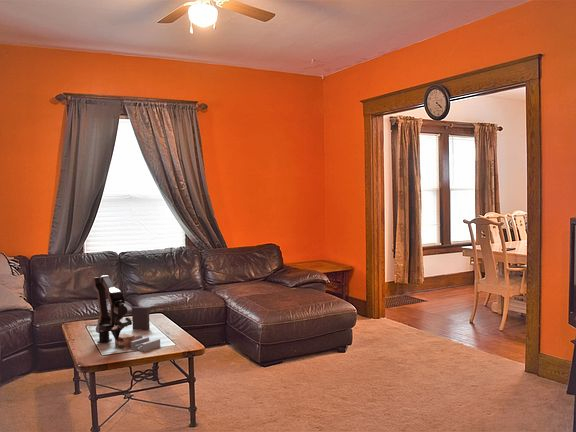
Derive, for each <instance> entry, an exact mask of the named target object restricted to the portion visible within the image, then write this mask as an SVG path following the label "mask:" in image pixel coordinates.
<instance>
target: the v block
mask: <svg viewBox="0 0 576 432" xmlns="http://www.w3.org/2000/svg"><path fill="white" fill-rule="evenodd" d="M157 348H161V339H160V338H156V339H153V340H151V339H150V337H149V336H146V337H143V338H141V339H138V340H135V341H131V347H130V349H131V350H136V351H141V352H147V351H150V350H153V349H157Z"/></svg>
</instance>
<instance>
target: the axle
mask: <svg viewBox="0 0 576 432" xmlns="http://www.w3.org/2000/svg"><path fill="white" fill-rule="evenodd" d="M141 338H144V337H143V335H135V340H138V339H141ZM117 346H118V347H117ZM117 346H116V347H117V348H119V349H124V348H123V340H122V341H118V342H117Z"/></svg>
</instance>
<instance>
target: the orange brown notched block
mask: <svg viewBox="0 0 576 432" xmlns="http://www.w3.org/2000/svg"><path fill="white" fill-rule="evenodd" d="M135 337H136V335H135V334H129V333H120V334H119V337H118V340H115V339H114V347H117V348H118V346H117V342H118V341H122V340H123V348H122V349H128V348H131V341H135Z"/></svg>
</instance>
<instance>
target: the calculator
mask: <svg viewBox="0 0 576 432" xmlns="http://www.w3.org/2000/svg"><path fill="white" fill-rule="evenodd" d="M131 315H132V319H131V321H132V331H147V332H148V331H149V330H150V329H151V328H150V307H149V306H132V307H131Z"/></svg>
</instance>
